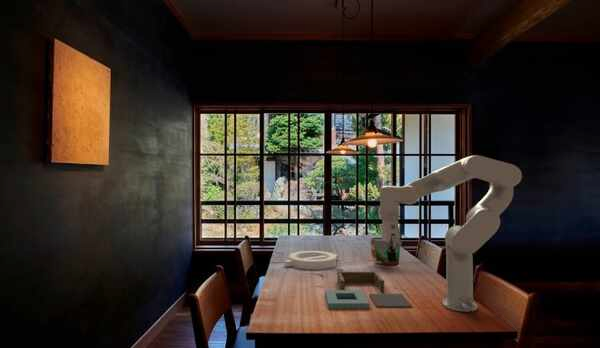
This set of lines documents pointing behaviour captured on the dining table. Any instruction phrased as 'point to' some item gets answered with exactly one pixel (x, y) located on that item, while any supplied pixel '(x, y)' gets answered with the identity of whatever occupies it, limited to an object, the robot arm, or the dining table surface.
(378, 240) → the reusable coffee cup
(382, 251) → the food container
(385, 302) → the charcoal mat
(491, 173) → the robot arm
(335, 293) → the hole plate
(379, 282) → the walnut cubby
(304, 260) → the ring with crossbar
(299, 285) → the dining table surface
